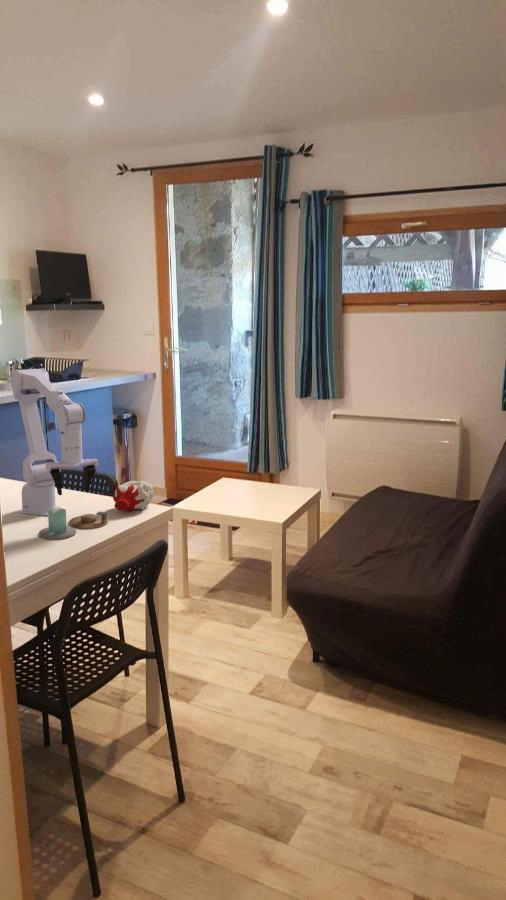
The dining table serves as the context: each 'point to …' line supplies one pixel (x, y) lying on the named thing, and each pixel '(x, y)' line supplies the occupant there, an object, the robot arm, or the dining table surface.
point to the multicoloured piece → (133, 495)
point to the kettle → (57, 521)
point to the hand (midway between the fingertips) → (73, 492)
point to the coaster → (67, 534)
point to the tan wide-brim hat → (89, 521)
